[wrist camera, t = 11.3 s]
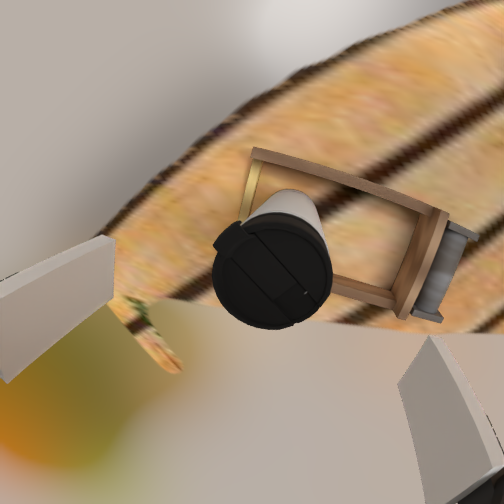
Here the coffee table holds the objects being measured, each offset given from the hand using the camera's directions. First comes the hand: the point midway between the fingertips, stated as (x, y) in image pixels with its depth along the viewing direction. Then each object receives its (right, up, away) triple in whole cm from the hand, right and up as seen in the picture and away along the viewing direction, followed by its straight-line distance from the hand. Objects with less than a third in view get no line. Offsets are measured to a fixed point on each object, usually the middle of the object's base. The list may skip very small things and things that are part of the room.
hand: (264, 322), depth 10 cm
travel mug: (+4, +7, +22) cm, 24 cm away
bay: (+12, +4, +22) cm, 25 cm away
